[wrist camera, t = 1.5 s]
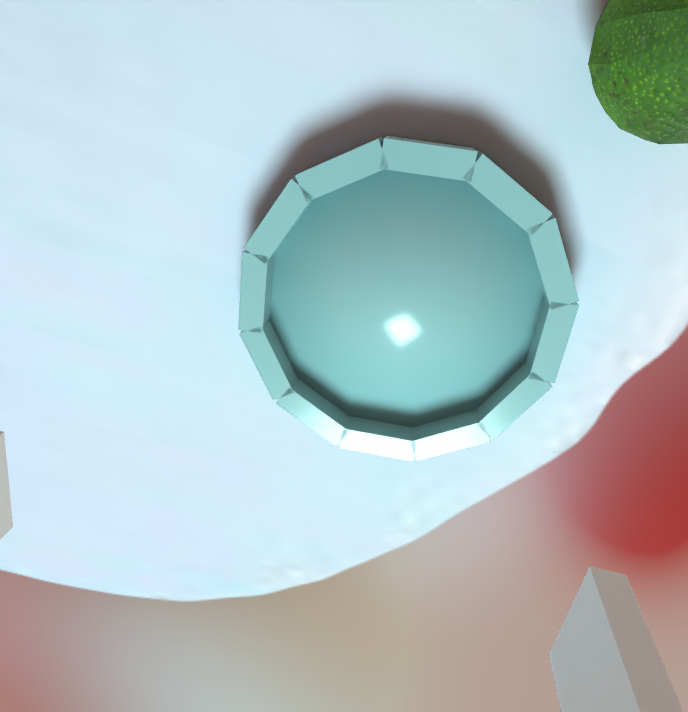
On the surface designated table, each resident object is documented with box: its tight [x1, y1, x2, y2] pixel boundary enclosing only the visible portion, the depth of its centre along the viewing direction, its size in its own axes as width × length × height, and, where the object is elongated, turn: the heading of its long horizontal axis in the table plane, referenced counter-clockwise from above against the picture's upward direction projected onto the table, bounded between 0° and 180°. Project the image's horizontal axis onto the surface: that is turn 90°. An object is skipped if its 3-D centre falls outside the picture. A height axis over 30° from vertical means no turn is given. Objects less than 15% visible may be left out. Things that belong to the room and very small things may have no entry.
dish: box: [238, 136, 579, 461], centre depth 34 cm, size 19×19×2 cm
